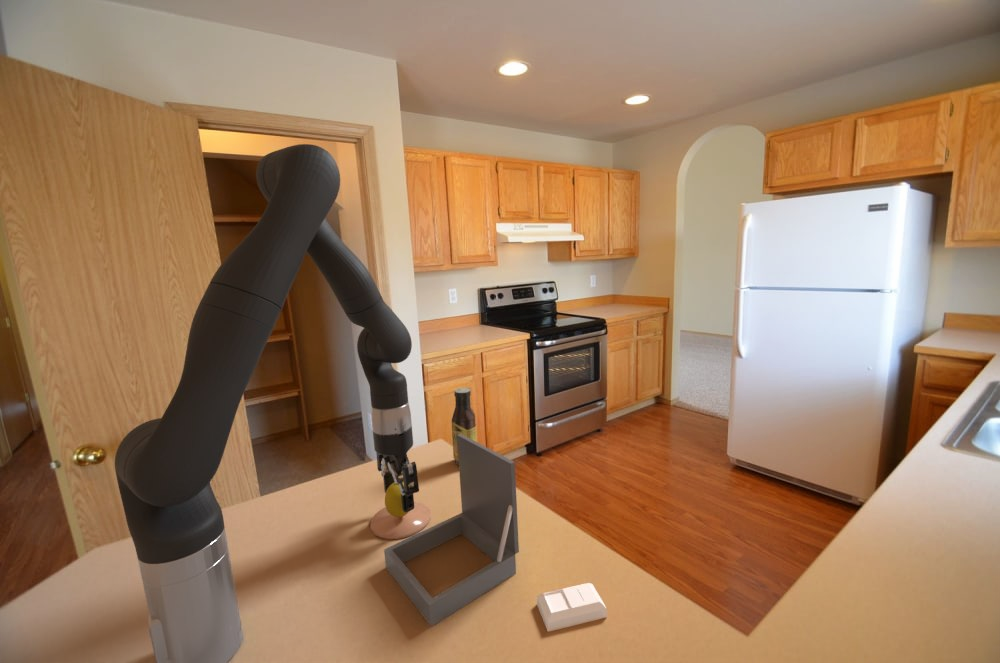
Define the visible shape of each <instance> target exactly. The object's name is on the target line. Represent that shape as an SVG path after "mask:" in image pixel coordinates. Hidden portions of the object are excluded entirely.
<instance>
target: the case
mask: <svg viewBox="0 0 1000 663" xmlns="http://www.w3.org/2000/svg"><path fill="white" fill-rule="evenodd" d="M457 444H458V459H459V466H458V471H459V472H458V473H459V485H460V499H461V513H459V514H456V515H454V516H452V517H449V518H447V519H445V520H443V521H441V522H439V523H437V524H435V525H433V526H431V527H429V528H427V529H424V530H423V531H422V530H421V531H420V532H418V533H416V534H414V535H412V536H409V537H406V538H404V539H403V540H401V541H399V542H397V543H395V544H392V545H391V546H388V547H386V548H384V549H383V550H384V551H383V552H384V561H385V568H386V570H387V571H388V572H389V574H390V575H391V576H392V577H393V579H394V580H395V582H396V583H397V584H398V585H399V586H400V588H401V589H402V591H403V592H404V593H405V594H406V596H407V597H408V599H409V600H410V601H411V603H412V604H413V605H414V606H415V607H416V609H417V610H418V612H419V613H420V615H421V616H422V617H423V619H425V621H426V622H427V623H428V625H429V626H430V627H431V628H432V627H433V626H435V625H437V624H439V623H440V622H442V621H443V620H445V619H446V618H449V616H452V615H453V614H454V613H456V612H458V611H459V610H461V609H462V608H464V607H465V606H467V605H468V604H471V603H472V602H474V601H475V600H476V599H478V598H479V597H480V596H483V595H484V594H486V593H487V592H489V591H490V590H492V589H493V588H495V587H497V586H498V585H499V584H501V583H503V582H505V581H506V580H508V579H510V578H511V577H513V576H514V575H516V574H517V564H516V561H517V560H516V555H517V554H518V553H519V552H520V548H519V547H520V546H519V544H520V543H519V528H518V527H519V526H518V525H519V524H518V522H519V521H518V503H517V480H516V478H517V477H516V463H515V460H512V459H509V458H507V457H505V456H504V455H502V454H501V453H498V452H496V451H494V450H493V449H490V448H489V447H487V446H485V445H483V444H481V443H479V442H478V441H477V442H475V441H473V440H472V439H470V438H468V437H466V436H464V435H462V434H458V435H457ZM461 534H462V535H463V536H464V537H465V538H467V539H468V540H469V541H470V542H471V543H472V544H473V545H475V547H477V548H478V549H479V550H480V551H481V552H482V553H484V554H485V555H486V556H487V557H489V558H490V559H491V560H492V562H491V563H489V564H487V565H486V566H484V567H482V568H481V569H478V570H477V571H475V572H473V573H472V574H470V575H469V576H467V577H465V578H464V579H462V580H460V581H458V582H457V583H455V584H454V585H451V586H450V587H448V588H446V589H444V590H443V591H441V592H440V593H438V594H436V595H435V596H433V597H432V595H430V593H429V592H428V591H427V589H425V588H424V586H423V585H422V584H421V582H420V581H419V580H418V579H417V578H416V577H415V575H414V574H413V573H412V571H410V570H409V568H408V566H406V565H405V563H407V562H408V561H411V560H413V559H414V558H417V557H418V556H420V555H422V554H424V553H426V552H428V551H430V550H432V549H435V548H436V547H438V546H440V545H442V544H444V543H446V542H448V541H450V540H452V539H454V538H456V537H457V536H460V535H461Z"/></svg>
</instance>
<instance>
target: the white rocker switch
mask: <svg viewBox="0 0 1000 663" xmlns="http://www.w3.org/2000/svg"><path fill="white" fill-rule="evenodd" d="M536 606H537V608H538V610H539V613H540V616H541V618H542V620H543V624H544V626H545V628H546V631H547V632H553V631H557V630H560V629H561V630H562V629H565V628H568V627H569V628H570V627H574V626H578V625H580V624H586V623H588V622H589V623H590V622H595V621H598V620H601V619H606V618H608V608H607V607H606V605H605V603H604V601H603V599H602V597H601V596H600V594H599V593H598V591H597V589H596V588H595V586H594V584H593V583H590V582H586V583H581V584H578V585H573V586H567V587H564V588H560V589H554V590H550V591H545V592H543V593H540V594H539V595H536Z"/></svg>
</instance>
